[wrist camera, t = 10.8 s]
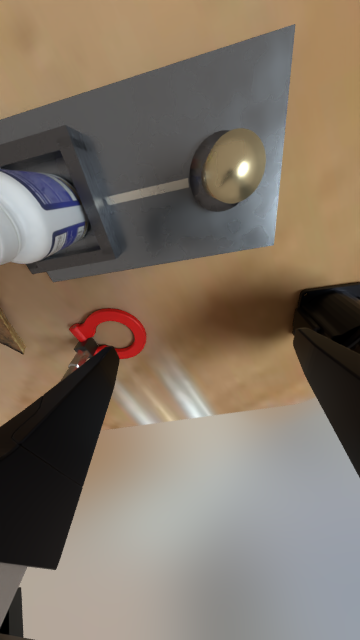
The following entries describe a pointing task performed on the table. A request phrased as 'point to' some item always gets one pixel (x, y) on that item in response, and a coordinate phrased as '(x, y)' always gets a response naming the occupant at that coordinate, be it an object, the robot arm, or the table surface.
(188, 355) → the table surface
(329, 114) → the table surface
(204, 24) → the table surface
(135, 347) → the tow hook
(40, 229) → the pill bottle
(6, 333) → the shard
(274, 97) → the metal plate with knob
